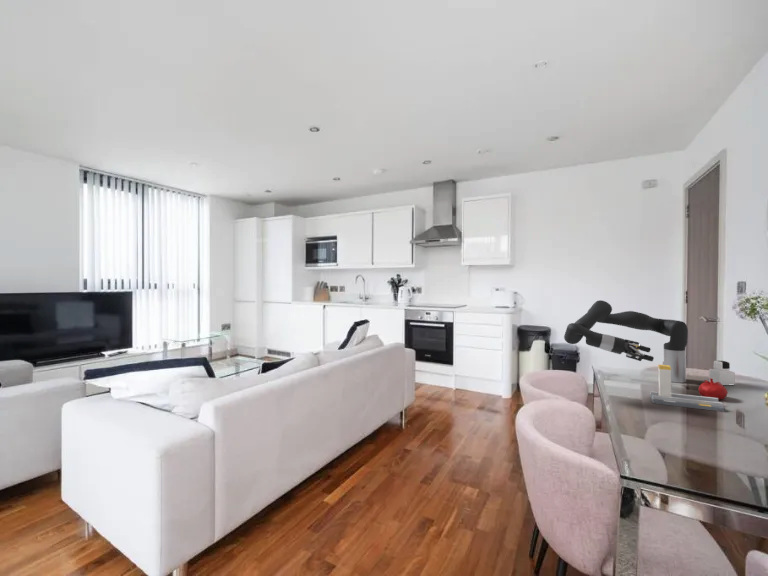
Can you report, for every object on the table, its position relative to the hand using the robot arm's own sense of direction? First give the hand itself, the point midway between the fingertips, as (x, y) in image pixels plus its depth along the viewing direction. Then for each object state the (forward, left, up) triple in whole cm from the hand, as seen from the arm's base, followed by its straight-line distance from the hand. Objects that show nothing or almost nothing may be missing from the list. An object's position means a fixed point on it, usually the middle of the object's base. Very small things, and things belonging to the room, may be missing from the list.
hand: (651, 354), depth 161 cm
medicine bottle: (-24, +54, -22) cm, 63 cm away
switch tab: (-1, +7, -20) cm, 22 cm away
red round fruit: (-4, +31, -22) cm, 38 cm away
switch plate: (+2, +13, -22) cm, 26 cm away
